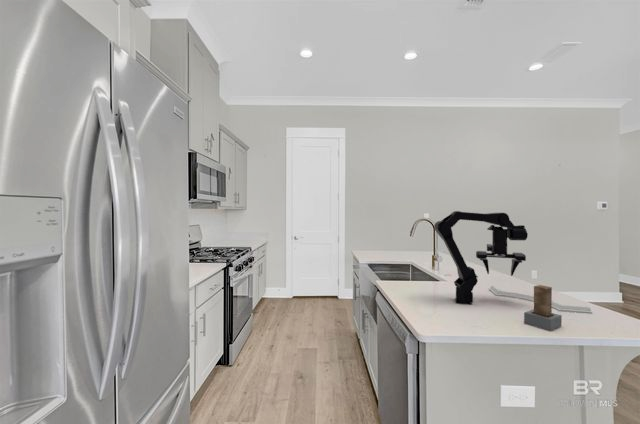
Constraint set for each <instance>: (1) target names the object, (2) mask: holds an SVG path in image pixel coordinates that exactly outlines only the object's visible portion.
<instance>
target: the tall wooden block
mask: <svg viewBox="0 0 640 424" xmlns="http://www.w3.org/2000/svg"><path fill="white" fill-rule="evenodd" d="M552 289H553V288H552V286H551V287H550V286H547V285H541V284H537V285H534V286H533V296H534V302H533V309H534V314H536V315H540V316H544V317H547V318H548V317H551V316H552V313H553V312H552V309H553V308H552V301H553V299H552V293H553V292H552Z"/></svg>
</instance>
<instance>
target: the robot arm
mask: <svg viewBox="0 0 640 424" xmlns="http://www.w3.org/2000/svg"><path fill="white" fill-rule="evenodd" d="M460 220H461V221H474V222H484V223H487V224H491V225H489V227H488V228H487V231H491V232H492V233H491V234H492V243H491V244H490V243H487V244H486V251H483V250H477V251H476V253H475V257H476V259H479V260H480V261H482V263H483V264H484V268H485V270H486V273H487V275H489V273H490V268H489V261H488V258H498V259H499V258H501V259H511V269H510V276H513V275H514V273H515V271H516V270H517V267H518V266H519V264H521V263H523V262H524V261H525V262H526V261H527V259H526V257H527V256H526V254H524V253H523V252H512V253H508V240H509V241H526V240H527V239H528V231H527V229H526V227H525V225H515V224H514V223H513V222H512V221H511V219H510V217H509V215H508V214H507V213H506V212H490V213H489V212H488V213H481V212H480V213H479V212H467V211H459V210H454V211H453V212H452V213H450V214H449V215H447V216H445V218H443V219H441V220H438V221H436V222H435V223H434V226H433V228H434V231H435V232H436V233H437V234H438V236H439V237H440V238H441V240H442V241H443V242H444V244H445V246H446V248H447V250H448V253H449V254H450V256H451V258H452V261H453V262H454V264H455V267H456V268H457V269H456V270H457V276H458V278H456V279H455V281H453V283H454V286H455V303H456V304H463V305H464V304H465V305H473V301H474V293H473V290H474V288H475V286H476V285H477V284H478V281H479V280H478V278H479V276H477V274H476V271H475V269H474V268H472V267H470V266H468V265H467V263H466V261H465V259H464V257H463V256H462V253H461V251H460V249H459V247H458V245H457V244H456V241H455V239H454V235H453V230H452V228H453V227H454V226H456V224H457V223H458V222H459V221H460Z"/></svg>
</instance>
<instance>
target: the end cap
mask: <svg viewBox="0 0 640 424" xmlns="http://www.w3.org/2000/svg"><path fill="white" fill-rule="evenodd" d="M562 317H563V316H562V315H561V314H559V313H558V314H557V313H555V312H554V313H553V312H552V316H551V317H548V318H547V317H544V316H540V315H536V314H534V308H533V309H531V310H527V311H525V312H523V323H524V324H526V325H528V326H532V327H536V328H539V329H542V330H546V331H549V332H552V331H554V330H557V329H559V328H561V327H562V326H563V325H562V320H563V319H562Z"/></svg>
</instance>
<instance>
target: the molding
mask: <svg viewBox="0 0 640 424" xmlns="http://www.w3.org/2000/svg"><path fill="white" fill-rule="evenodd" d="M488 291H489V292H490V293H492V294H493V295H494V296H495V297H504V298H511V299H512V298H513V299H517V300H523V301H528V302H533V303H534V295H530V294H527V293H526V294H525V293H519V292H514V291H508V290H507V291H506V290H502V289H501V288H499V287H498V288H497V287H496V286H494V285H491V286H490V287H489V288H488ZM552 309H553V310H555V311H558V312H564V313H575V312H576V313H577V314H587V315H588V314H590V315H592V314H593V311H592V310H591V307H590V306H582V305H570V304H560V303H558V302H556V301H553V300H552Z"/></svg>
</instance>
